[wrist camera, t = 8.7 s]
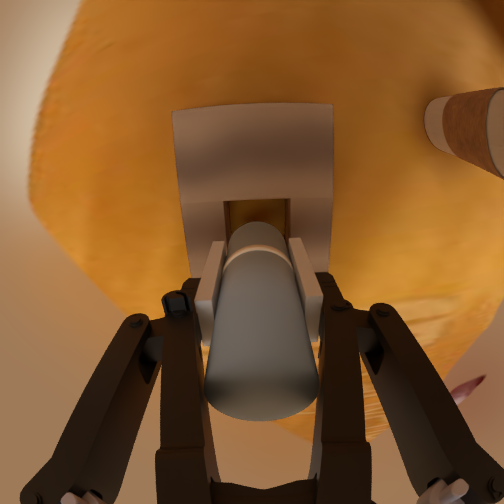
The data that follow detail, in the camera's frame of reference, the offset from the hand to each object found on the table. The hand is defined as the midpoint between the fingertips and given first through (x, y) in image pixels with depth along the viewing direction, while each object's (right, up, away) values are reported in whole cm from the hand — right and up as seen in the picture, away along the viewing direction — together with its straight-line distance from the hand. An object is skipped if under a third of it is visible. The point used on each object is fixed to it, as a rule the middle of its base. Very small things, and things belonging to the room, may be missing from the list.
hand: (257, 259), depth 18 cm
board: (0, +4, +8) cm, 9 cm away
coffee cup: (+20, +14, +3) cm, 24 cm away
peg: (0, +1, +1) cm, 2 cm away
